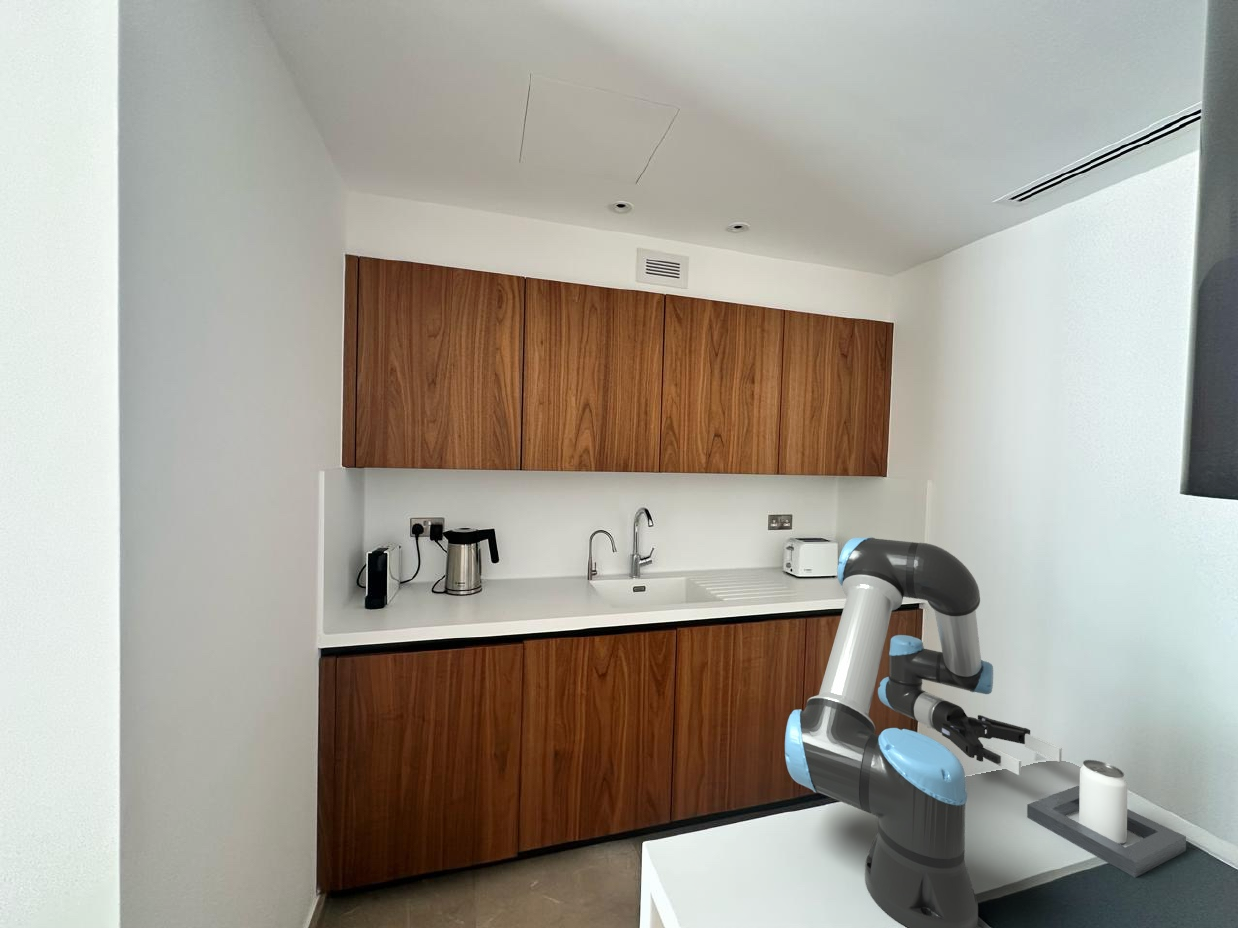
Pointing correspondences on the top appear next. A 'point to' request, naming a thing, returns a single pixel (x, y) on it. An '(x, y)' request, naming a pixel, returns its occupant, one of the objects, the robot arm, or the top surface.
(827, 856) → the top surface
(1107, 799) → the can
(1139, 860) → the jig
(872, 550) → the robot arm
